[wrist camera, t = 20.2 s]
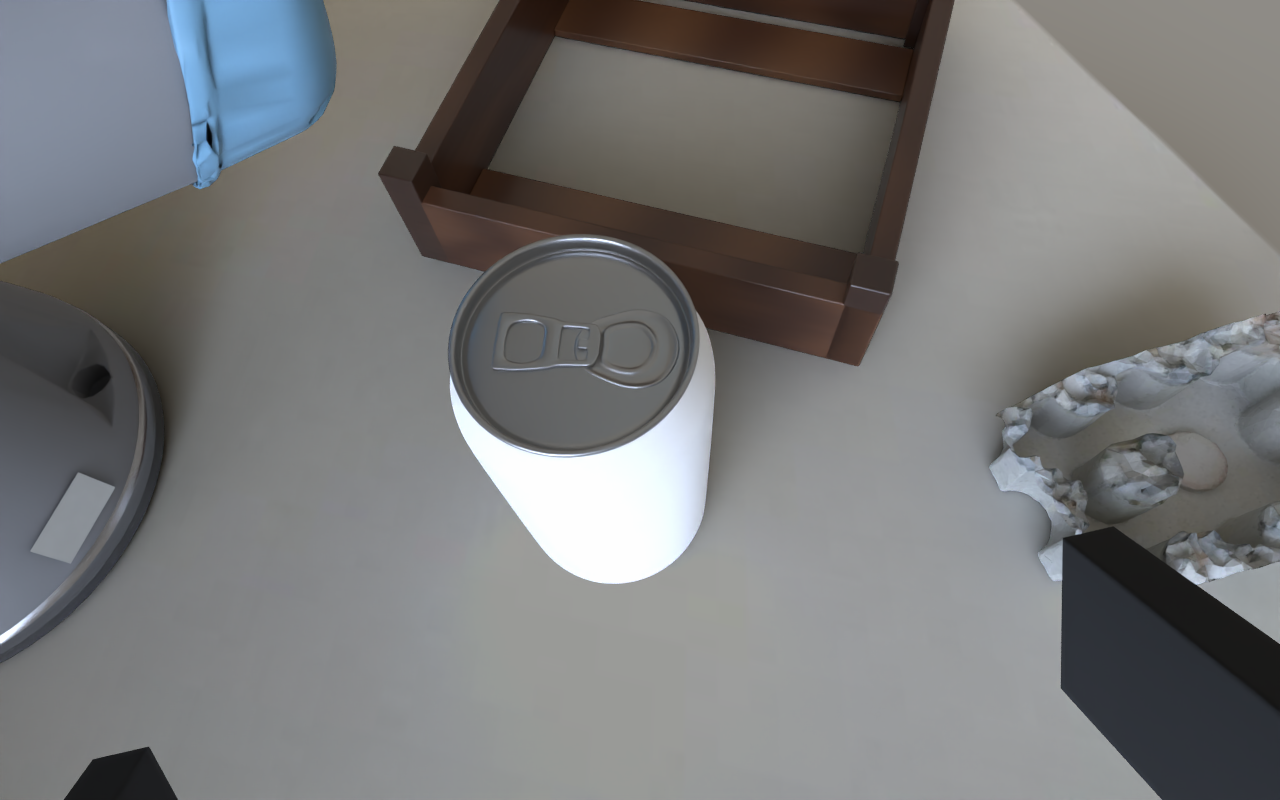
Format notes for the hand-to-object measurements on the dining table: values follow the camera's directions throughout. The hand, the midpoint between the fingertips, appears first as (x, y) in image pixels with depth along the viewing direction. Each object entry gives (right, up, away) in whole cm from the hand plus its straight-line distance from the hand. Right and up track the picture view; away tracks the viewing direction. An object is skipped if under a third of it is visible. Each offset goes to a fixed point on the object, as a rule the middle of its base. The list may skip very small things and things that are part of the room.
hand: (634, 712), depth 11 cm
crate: (+3, +16, +24) cm, 29 cm away
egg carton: (+18, +1, +16) cm, 24 cm away
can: (-1, +1, +17) cm, 17 cm away
